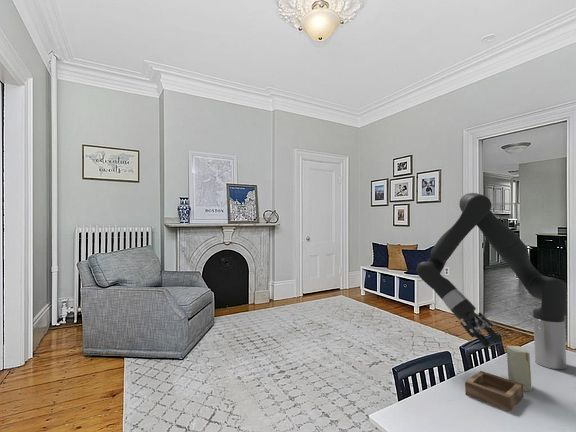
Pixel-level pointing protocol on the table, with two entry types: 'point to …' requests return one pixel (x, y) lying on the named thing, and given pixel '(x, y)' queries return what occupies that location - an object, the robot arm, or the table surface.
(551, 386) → the table surface
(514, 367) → the skincare box
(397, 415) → the table surface
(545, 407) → the table surface
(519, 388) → the block
